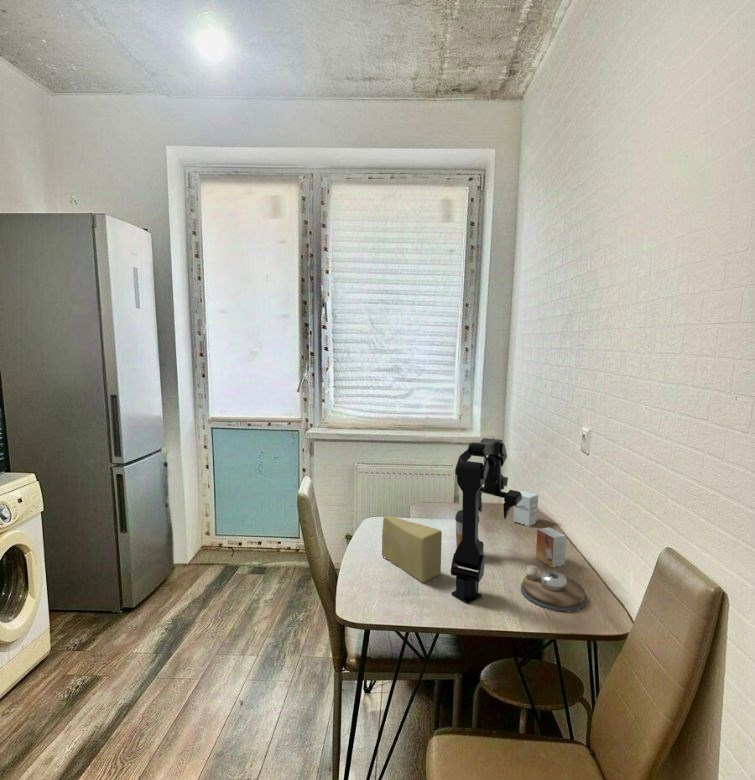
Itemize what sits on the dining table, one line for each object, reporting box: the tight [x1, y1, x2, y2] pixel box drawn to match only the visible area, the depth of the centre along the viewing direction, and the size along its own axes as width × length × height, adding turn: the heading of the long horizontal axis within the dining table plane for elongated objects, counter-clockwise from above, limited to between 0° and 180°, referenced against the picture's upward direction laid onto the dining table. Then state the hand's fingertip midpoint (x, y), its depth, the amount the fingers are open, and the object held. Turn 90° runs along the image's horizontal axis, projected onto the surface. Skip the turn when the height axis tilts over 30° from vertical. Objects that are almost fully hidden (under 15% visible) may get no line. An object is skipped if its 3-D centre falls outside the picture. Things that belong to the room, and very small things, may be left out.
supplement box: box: [512, 490, 539, 526], centre depth 188 cm, size 7×7×13 cm
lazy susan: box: [522, 564, 586, 607], centre depth 131 cm, size 17×17×5 cm
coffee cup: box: [454, 509, 480, 548], centre depth 156 cm, size 8×8×15 cm
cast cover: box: [541, 570, 567, 592], centre depth 131 cm, size 7×7×3 cm
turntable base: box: [520, 581, 587, 613], centre depth 132 cm, size 18×19×1 cm
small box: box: [535, 527, 567, 568], centre depth 152 cm, size 8×6×10 cm
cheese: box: [381, 515, 443, 583], centre depth 147 cm, size 22×10×15 cm, turn 44°
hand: (492, 514), depth 156 cm, fingers open, 9 cm apart
